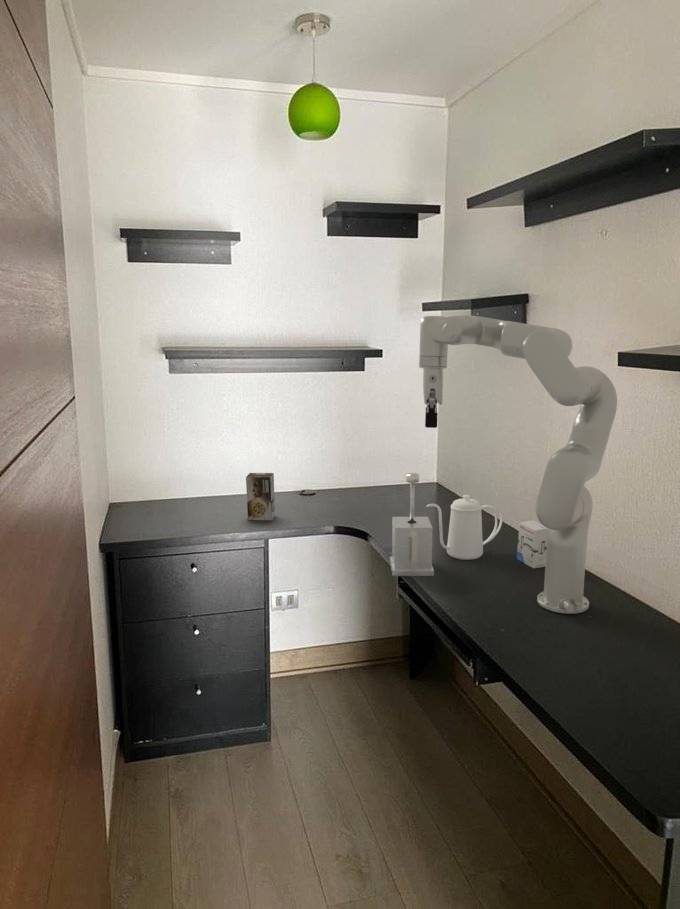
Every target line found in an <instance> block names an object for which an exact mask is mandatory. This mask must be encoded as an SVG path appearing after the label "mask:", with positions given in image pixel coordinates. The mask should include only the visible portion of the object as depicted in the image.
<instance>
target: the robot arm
mask: <svg viewBox="0 0 680 909" xmlns="http://www.w3.org/2000/svg"><path fill="white" fill-rule="evenodd" d="M419 325H420V327H419V328H420V329H419V330H420V332H419V360H418V361H419V362H418V367H419V368H420V369H423V370H422V371H423V373H422V375H423V377H422V378H423V380H422V382H423V383H422V386H423V387H422V388H423V390H422V391H423V392H422V393H423V394H422V395H423V401H424V405H426V407H425V420H424V423H425V424H424V427H425V428H427V429H428V428H429V429H430V428H432V429H437V427H438V404H439V406H442V405H443V392H444V369H447V368H448V352H449V351H448V350H449V348H448V347H449V345H450V346H459V345H462V346H463V345H479V346H483V347H490V348H494V349H497V350H499V351H500V353H501V354H502V355H504V356H507V357H512V358H517V359H523V360H525V361H526V363H527V364H528V366H529V368H530V369H531V370H532V372H533V374H534V375H535V376H536V378H537V379H538V380H539V382H540V383H541V384H542V386H543V387H544V389H545V390H546V392H547V393H548V394H549V396H550V397H551V398H552V400H553V401H555V402H556V403H558V404H559V405H561V406H564V407H575V406H577V405H579V410H578V412H577V415H576V416H575V418H574V422H573V425H572V429H571V432H570V435H569V438H568V441H567V443H566V445H565V446H564V447H561V448H559V449H558V450H556V451H555V452H554V453H553V454H552V455H551V456H550V458H549V460H548V461H547V463H546V467H545V470H544V473H543V475H542V476H543V477H542V480H541V484H540V487H539V491H538V495H537V496H536V497H537V498H536V502H535V514H536V517H537V520H538V522H539V524H541V525H543V526H545V527H546V528H548V535H547V548H546V565H545V568H544V582H543V583H544V584H543V586H544V587H543V591H541V592H540V593H538V595H537V596H536V598H537V599H536V602H537V603H538V605H539V606H540V607H542V608H543V609H546V610H547V611H550V612H554V613H560V614H567V615H571V614H573V615H574V614H580V613H584V612H585V611H588V609H589V608H590V601H589V600H588V598H587V597H585V596H584V588H585V576H586V575H585V574H586V573H585V572H586V560H587V548H588V536H589V531H590V530H589V528H590V522H591V517H592V513H593V507H594V506H593V504H594V503H593V496H592V494H591V492H590V490H589V489H588V488H587V487H586V486H585V484H586V482H588V481H590V480H592V479H593V478H595V477H596V476H597V475H598V473H599V472H600V469H601V465H602V461H603V458H604V454H605V451H606V450H607V449H606V448H607V445H608V442H609V438H610V435H611V430H612V428H613V424H614V422H615V421H614V420H615V417H616V413H617V409H618V408H617V407H618V395H617V394H618V393H617V391H616V388H615V385H614V383H613V382H612V380H611V379H610V377H608V375H607V374H606V373H604V372H603V371H601V370H600V369H598V368H596V367H593V366H589V365H588V366H577V367H576V366H575V365H574V364H573V362H572V361H571V359H570V358H569V356H570V354H572V350H573V340H572V338H571V336H570V335H569V333H567V332H566V331H564V330H562V329H558V328H555V327H549V326H542V325H535V324H529V323H522V322H517V321H511V320H503V319H497V318H491V317H485V316H478V315H469V314H468V315H464V314H463V315H450V316H442V315H425V316H423V317H421V320H420V324H419Z"/></svg>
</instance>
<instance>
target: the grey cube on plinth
mask: <svg viewBox="0 0 680 909" xmlns="http://www.w3.org/2000/svg"><path fill="white" fill-rule="evenodd" d="M391 521H392V525H391V529H392V531H391V534H392V535H391V537H392V538H391V539H392V540H391V556H389V564H390V569H391V574H392V575H391V576H392V577H434V576H435V569H434V566H433V562H432V561H433V531H434V530H433V528H434V527H433V526H432V523H431V521H430V518H429V516H414V523H410V516H392V520H391Z"/></svg>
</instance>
